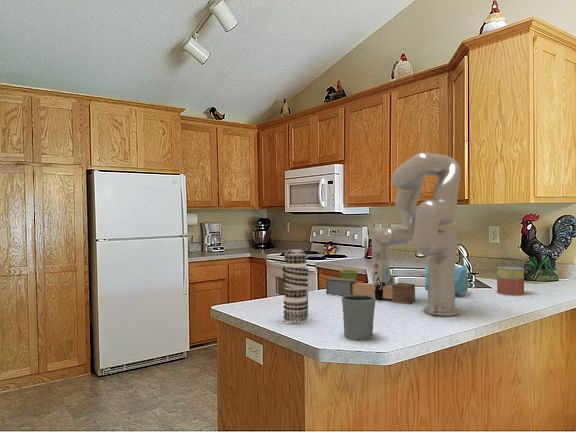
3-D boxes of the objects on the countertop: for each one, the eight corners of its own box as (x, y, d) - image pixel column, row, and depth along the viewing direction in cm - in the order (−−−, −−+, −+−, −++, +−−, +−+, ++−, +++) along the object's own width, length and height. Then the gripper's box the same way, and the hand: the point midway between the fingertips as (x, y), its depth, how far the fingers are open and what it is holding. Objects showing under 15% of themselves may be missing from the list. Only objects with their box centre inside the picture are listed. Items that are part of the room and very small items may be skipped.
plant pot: (362, 287, 213) (362, 270, 213) (351, 290, 206) (351, 272, 206) (346, 285, 219) (346, 269, 219) (336, 288, 212) (335, 271, 212)
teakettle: (424, 297, 188) (424, 264, 188) (426, 290, 206) (426, 260, 206) (470, 300, 182) (470, 266, 181) (468, 292, 199) (468, 261, 199)
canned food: (505, 290, 204) (505, 265, 204) (529, 294, 194) (529, 268, 194) (492, 293, 198) (491, 267, 197) (516, 296, 188) (516, 270, 188)
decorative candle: (279, 323, 144) (278, 250, 144) (286, 317, 153) (286, 248, 153) (305, 325, 142) (304, 251, 141) (311, 318, 150) (310, 249, 150)
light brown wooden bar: (400, 300, 178) (400, 288, 178) (344, 293, 192) (344, 282, 192) (403, 298, 181) (403, 286, 181) (348, 292, 195) (348, 281, 195)
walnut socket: (410, 304, 174) (410, 286, 174) (392, 302, 178) (392, 285, 178) (415, 301, 180) (415, 284, 180) (397, 299, 184) (397, 282, 184)
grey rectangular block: (350, 297, 189) (350, 281, 189) (326, 294, 195) (326, 279, 195) (356, 294, 195) (356, 279, 194) (333, 292, 201) (333, 277, 201)
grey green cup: (336, 337, 127) (336, 298, 127) (349, 329, 136) (349, 292, 136) (368, 343, 122) (368, 301, 122) (380, 334, 130) (380, 295, 130)
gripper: (381, 258, 175) (382, 301, 175) (395, 254, 189) (395, 295, 189) (365, 257, 179) (365, 299, 180) (379, 253, 193) (379, 293, 194)
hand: (380, 297), depth 184 cm, fingers closed on light brown wooden bar, 4 cm apart
